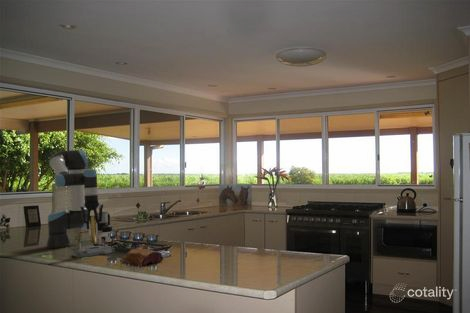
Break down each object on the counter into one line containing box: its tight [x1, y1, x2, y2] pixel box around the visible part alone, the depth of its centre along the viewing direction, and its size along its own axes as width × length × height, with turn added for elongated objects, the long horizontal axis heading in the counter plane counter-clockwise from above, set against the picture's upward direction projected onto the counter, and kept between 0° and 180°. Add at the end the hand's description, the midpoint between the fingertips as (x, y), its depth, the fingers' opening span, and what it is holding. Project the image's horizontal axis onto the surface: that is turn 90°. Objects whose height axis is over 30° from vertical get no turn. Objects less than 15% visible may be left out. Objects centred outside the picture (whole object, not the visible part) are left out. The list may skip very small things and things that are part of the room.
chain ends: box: [72, 245, 116, 259], centre depth 269 cm, size 10×22×4 cm, turn 121°
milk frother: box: [97, 211, 111, 231], centre depth 386 cm, size 14×16×15 cm
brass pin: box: [89, 215, 97, 244], centre depth 270 cm, size 3×3×16 cm
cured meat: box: [123, 248, 164, 267], centre depth 241 cm, size 18×25×7 cm
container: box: [98, 225, 117, 245], centre depth 296 cm, size 8×8×13 cm
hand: (93, 234), depth 270 cm, fingers closed on brass pin, 3 cm apart
